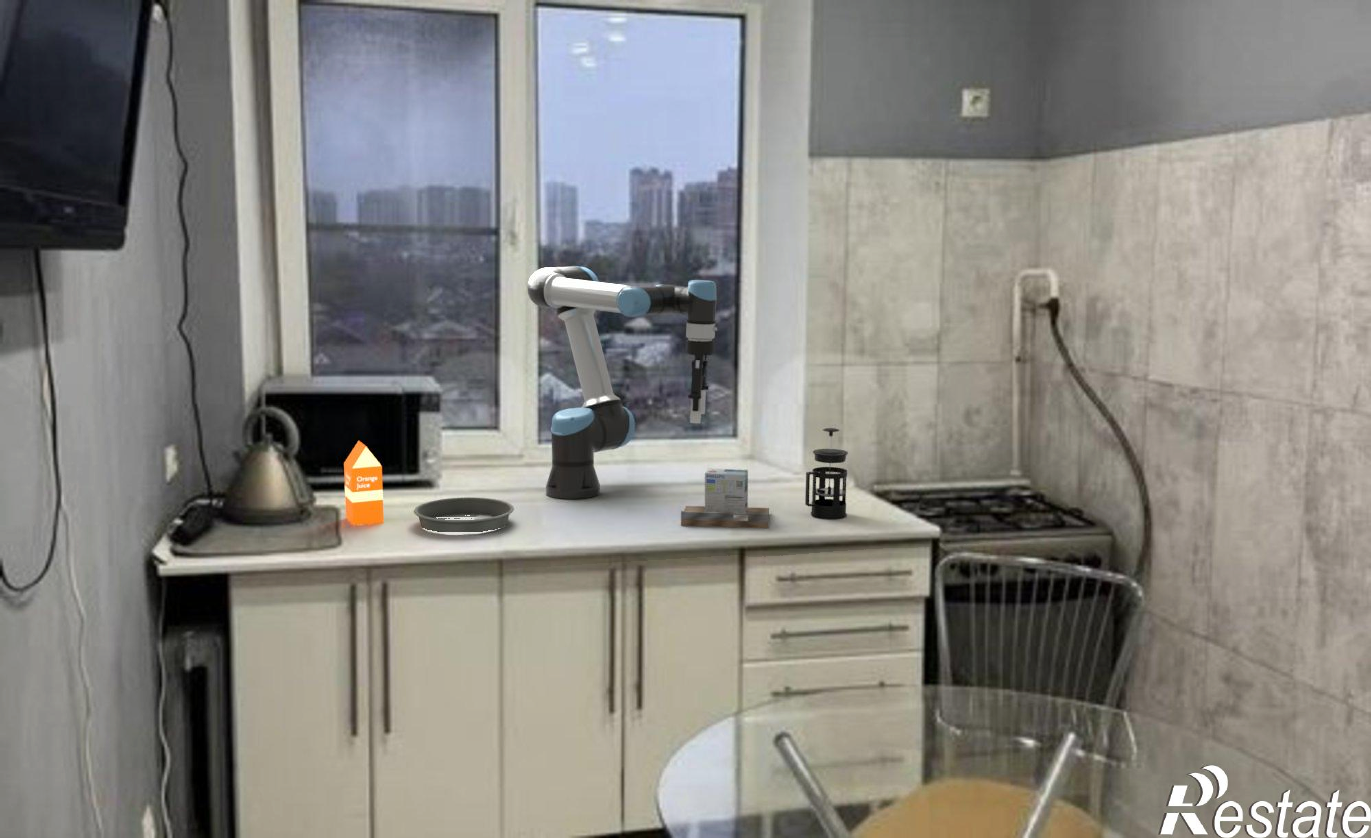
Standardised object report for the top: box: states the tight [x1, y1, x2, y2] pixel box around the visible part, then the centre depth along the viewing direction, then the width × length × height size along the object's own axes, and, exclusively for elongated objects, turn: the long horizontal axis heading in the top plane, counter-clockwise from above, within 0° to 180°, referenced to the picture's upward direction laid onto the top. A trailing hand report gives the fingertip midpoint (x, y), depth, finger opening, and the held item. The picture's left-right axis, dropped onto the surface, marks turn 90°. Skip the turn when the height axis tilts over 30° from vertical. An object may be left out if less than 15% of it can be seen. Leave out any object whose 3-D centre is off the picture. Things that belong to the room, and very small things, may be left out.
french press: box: [804, 427, 849, 521], centre depth 308 cm, size 12×9×23 cm
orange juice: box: [343, 440, 385, 526], centre depth 298 cm, size 8×9×20 cm
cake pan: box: [413, 496, 515, 532], centre depth 297 cm, size 25×25×4 cm
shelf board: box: [680, 505, 770, 529], centre depth 304 cm, size 22×15×4 cm
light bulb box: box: [704, 467, 749, 513], centre depth 306 cm, size 11×7×11 cm, turn 81°
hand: (697, 418), depth 317 cm, fingers open, 13 cm apart
